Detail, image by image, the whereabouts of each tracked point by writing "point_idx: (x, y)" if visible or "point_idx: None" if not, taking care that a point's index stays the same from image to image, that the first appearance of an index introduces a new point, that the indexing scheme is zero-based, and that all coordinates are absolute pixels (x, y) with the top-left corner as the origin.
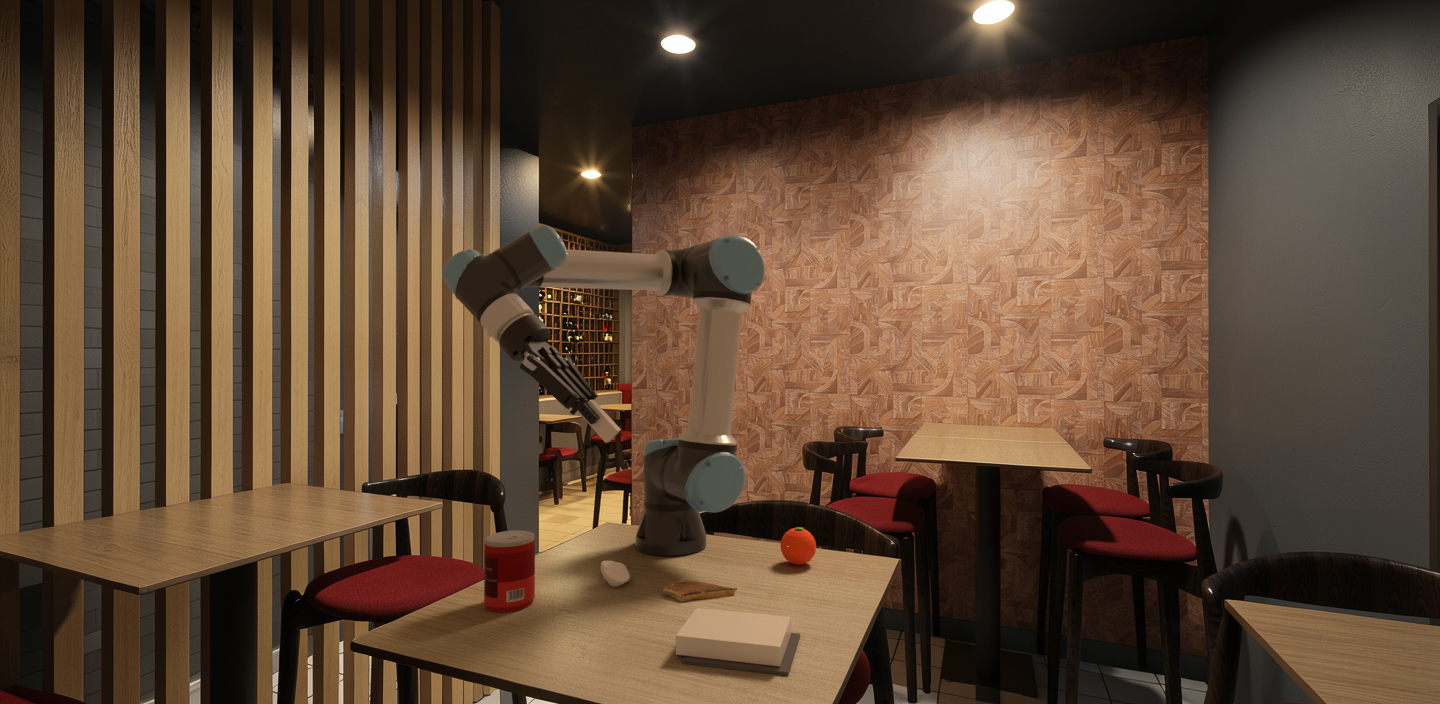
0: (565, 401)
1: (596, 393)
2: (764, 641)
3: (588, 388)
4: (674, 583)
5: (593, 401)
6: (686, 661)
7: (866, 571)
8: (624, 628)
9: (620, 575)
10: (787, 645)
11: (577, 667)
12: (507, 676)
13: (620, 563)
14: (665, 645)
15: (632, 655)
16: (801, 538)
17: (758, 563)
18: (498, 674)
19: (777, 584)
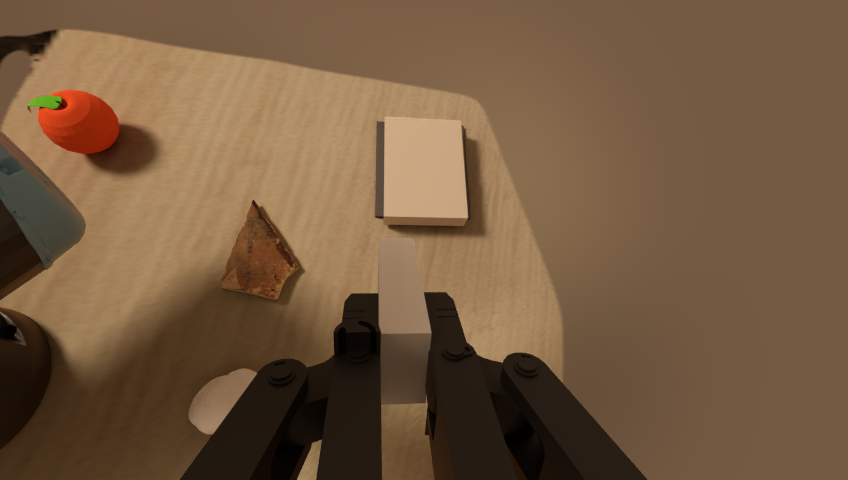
0: (533, 431)
1: (336, 331)
2: (453, 134)
3: (283, 414)
4: (249, 289)
5: (402, 324)
6: (469, 214)
7: (136, 58)
8: None
9: (248, 380)
10: None
11: (513, 319)
12: None
13: (213, 394)
14: (435, 247)
15: (469, 273)
16: (93, 104)
17: (98, 196)
18: None
19: (206, 159)
